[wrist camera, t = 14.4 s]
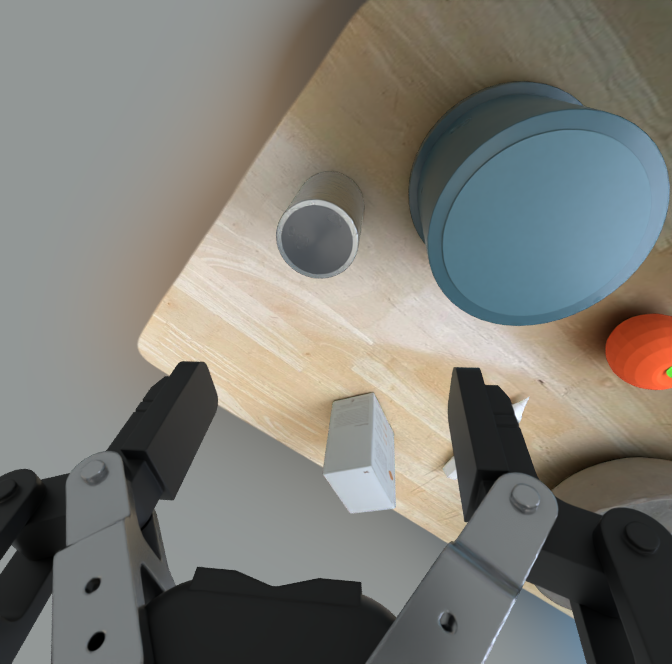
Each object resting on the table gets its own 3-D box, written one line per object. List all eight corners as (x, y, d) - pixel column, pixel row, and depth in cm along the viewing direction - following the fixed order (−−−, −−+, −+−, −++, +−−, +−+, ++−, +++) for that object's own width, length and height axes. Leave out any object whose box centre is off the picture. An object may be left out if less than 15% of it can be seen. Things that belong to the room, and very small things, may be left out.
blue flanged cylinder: (411, 90, 29) (421, 104, 20) (623, 72, 27) (743, 78, 18) (406, 267, 37) (412, 335, 28) (568, 263, 35) (630, 335, 26)
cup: (292, 173, 33) (269, 201, 26) (362, 169, 32) (356, 197, 26) (301, 240, 36) (283, 279, 30) (365, 237, 35) (360, 278, 29)
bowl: (583, 563, 64) (611, 637, 55) (469, 490, 56) (482, 564, 48) (784, 500, 49) (861, 586, 41) (669, 390, 42) (737, 471, 33)
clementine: (627, 282, 35) (674, 325, 29) (700, 299, 35) (760, 346, 30) (578, 348, 40) (610, 397, 34) (642, 363, 40) (685, 415, 34)
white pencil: (526, 387, 44) (450, 462, 53) (515, 387, 43) (439, 464, 52) (542, 405, 43) (461, 480, 52) (531, 406, 42) (450, 482, 51)
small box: (332, 399, 48) (320, 473, 40) (374, 390, 46) (371, 465, 38) (355, 440, 52) (348, 515, 44) (395, 433, 50) (396, 509, 42)
